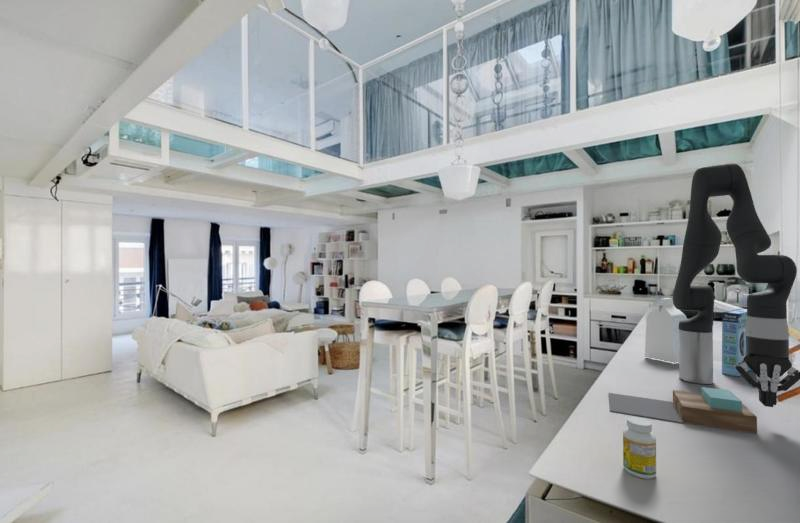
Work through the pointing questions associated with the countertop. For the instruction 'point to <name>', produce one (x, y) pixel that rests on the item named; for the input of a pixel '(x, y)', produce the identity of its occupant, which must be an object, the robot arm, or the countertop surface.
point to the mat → (644, 407)
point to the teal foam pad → (721, 399)
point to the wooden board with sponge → (712, 413)
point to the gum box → (733, 340)
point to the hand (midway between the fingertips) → (767, 405)
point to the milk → (663, 331)
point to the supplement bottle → (639, 448)
